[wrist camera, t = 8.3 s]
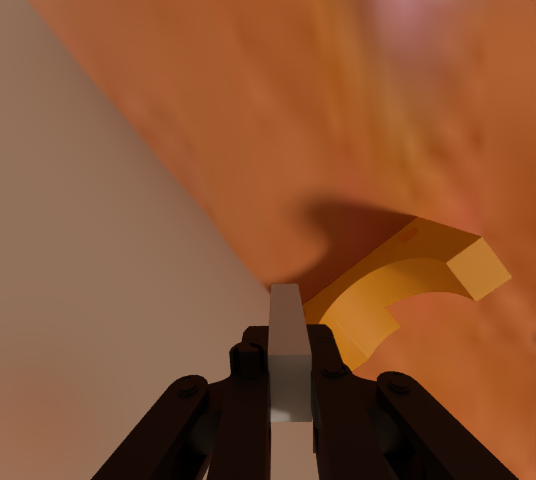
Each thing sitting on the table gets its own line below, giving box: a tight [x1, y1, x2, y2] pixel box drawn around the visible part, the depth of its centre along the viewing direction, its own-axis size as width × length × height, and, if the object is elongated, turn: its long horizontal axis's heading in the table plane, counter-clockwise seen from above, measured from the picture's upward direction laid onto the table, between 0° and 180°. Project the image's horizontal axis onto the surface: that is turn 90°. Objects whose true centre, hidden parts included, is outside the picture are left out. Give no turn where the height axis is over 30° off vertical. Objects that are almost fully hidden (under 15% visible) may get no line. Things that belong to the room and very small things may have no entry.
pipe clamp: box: [302, 217, 512, 371], centre depth 18 cm, size 12×4×6 cm, turn 131°
